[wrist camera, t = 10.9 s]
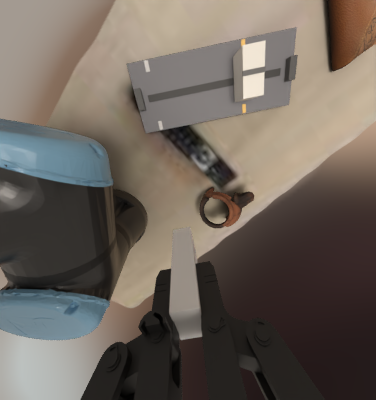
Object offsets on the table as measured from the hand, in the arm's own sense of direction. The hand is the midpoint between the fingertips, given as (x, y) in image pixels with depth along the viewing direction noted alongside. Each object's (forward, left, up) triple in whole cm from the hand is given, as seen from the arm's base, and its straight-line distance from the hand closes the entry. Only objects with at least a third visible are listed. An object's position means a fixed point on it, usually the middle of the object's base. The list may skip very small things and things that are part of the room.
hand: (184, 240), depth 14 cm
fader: (+13, +14, -20) cm, 27 cm away
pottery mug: (+9, -9, -23) cm, 26 cm away
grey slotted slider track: (+8, +14, -22) cm, 27 cm away
